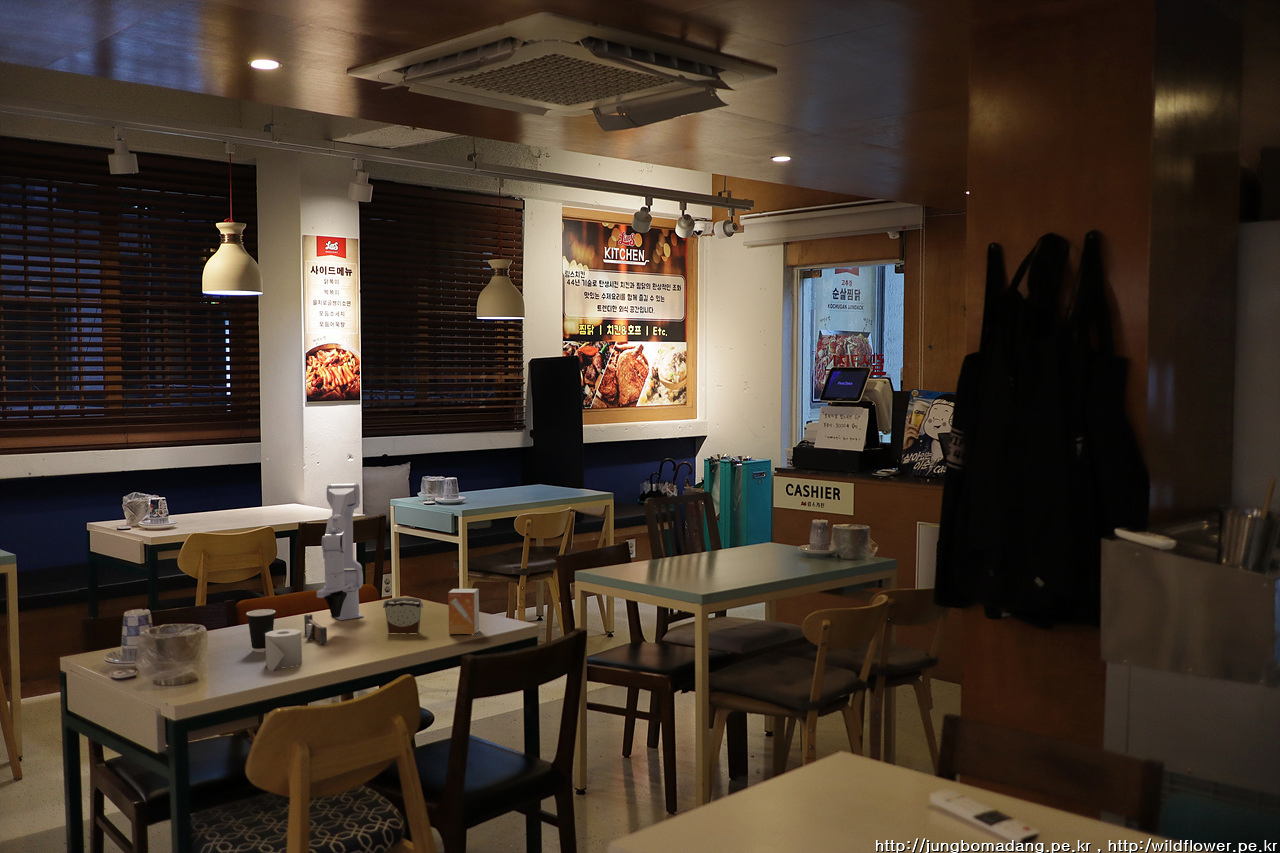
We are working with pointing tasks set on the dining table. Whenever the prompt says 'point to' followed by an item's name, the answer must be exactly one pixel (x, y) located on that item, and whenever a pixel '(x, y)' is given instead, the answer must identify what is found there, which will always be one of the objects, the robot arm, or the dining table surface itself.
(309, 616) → the hinge post
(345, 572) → the robot arm
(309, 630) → the post
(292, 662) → the toilet tissue
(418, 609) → the food container
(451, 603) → the small box
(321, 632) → the brown long bar
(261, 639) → the dixie cup
